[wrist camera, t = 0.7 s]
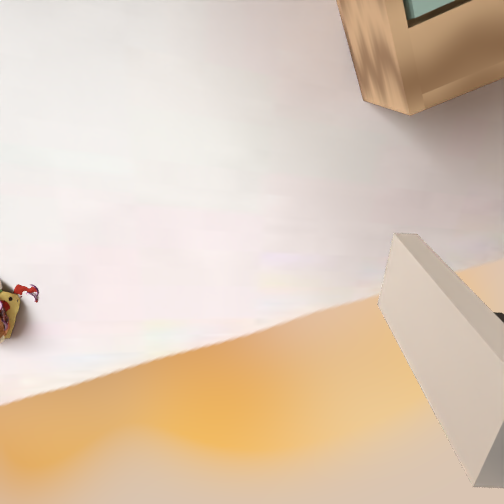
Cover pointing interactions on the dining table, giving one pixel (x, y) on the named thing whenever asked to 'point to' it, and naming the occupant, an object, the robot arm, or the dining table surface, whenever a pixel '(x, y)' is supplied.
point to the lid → (421, 7)
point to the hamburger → (11, 309)
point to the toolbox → (423, 50)
